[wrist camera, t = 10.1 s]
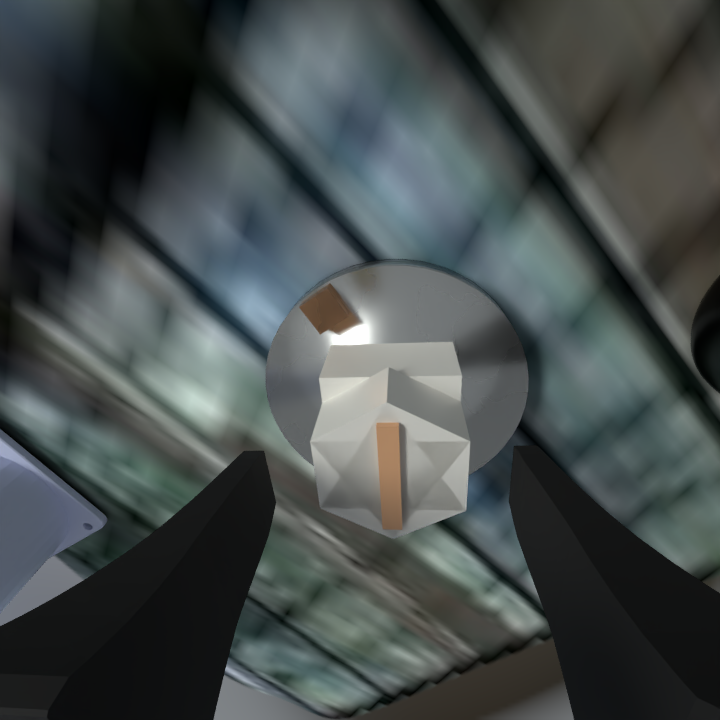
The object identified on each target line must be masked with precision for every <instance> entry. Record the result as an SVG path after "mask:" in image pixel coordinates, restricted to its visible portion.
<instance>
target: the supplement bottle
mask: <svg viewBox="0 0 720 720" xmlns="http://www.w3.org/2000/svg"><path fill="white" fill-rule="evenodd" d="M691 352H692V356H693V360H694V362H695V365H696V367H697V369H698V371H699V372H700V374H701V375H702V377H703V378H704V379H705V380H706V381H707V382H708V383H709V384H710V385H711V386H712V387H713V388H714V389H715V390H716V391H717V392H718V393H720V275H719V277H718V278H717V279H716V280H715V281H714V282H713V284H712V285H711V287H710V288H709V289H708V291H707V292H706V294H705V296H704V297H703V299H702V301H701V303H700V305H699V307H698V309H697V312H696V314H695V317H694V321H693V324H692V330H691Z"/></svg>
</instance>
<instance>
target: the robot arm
mask: <svg viewBox="0 0 720 720" xmlns="http://www.w3.org/2000/svg"><path fill="white" fill-rule="evenodd" d="M509 504H510V508H511V513H512V517H513V521H514V525H515V530H516V534H517V537H518V540H519V543H520V546H521V549H522V551H523V554H524V557H525V560H526V562H527V565H528V568H529V571H530V573H531V576H532V579H533V582H534V584H535V587H536V590H537V593H538V595H539V598H540V601H541V603H542V606H543V609H544V612H545V614H546V617H547V620H548V623H549V626H550V629H551V633H552V636H553V639H554V643H555V647H556V650H557V654H558V658H559V661H560V665H561V669H562V672H563V677H564V681H565V685H566V689H567V693H568V696H569V700H570V704H571V708H572V712H573V716H574V720H720V593H719V592H717V591H715V590H714V589H712V588H711V587H709V586H707V585H706V584H705V583H703V582H701V581H700V580H698V579H697V578H695V577H694V576H692V575H691V574H689V573H687V572H686V571H684V570H683V569H682V568H680V567H679V566H677V565H676V564H674V563H673V562H671V561H670V560H668V559H667V558H666V557H664V556H663V555H662V554H660V553H659V552H657V551H656V550H655V549H653V548H652V547H651V546H649V545H648V544H646V543H645V542H644V541H642V540H641V539H640V538H638V537H637V536H636V535H635V534H633V533H632V532H631V531H629V530H628V529H627V528H626V527H624V526H623V525H622V524H621V523H620V522H618V521H617V520H616V519H615V518H614V517H612V516H611V515H610V514H609V513H608V512H606V511H605V510H604V509H603V508H602V507H601V506H600V505H598V504H597V503H596V502H595V501H594V500H593V499H592V498H591V497H590V496H589V495H588V494H586V493H585V492H584V491H583V490H582V489H581V488H580V487H579V486H578V485H577V484H576V483H575V482H574V481H573V480H572V479H570V478H569V477H568V476H567V475H566V474H565V473H564V472H563V471H562V470H561V469H560V468H559V467H558V466H557V465H556V464H555V463H554V462H553V461H552V460H551V459H550V458H549V457H548V456H547V455H546V454H545V453H544V452H543V451H542V450H541V449H540V448H539V447H538V446H537V445H533V446H514V452H513V463H512V473H511V484H510V495H509ZM275 505H276V500H275V496H274V491H273V487H272V483H271V479H270V475H269V470H268V466H267V462H266V458H265V453H264V451H244V452H243V453H242V454H240V455H239V456H238V457H237V458H236V459H235V460H234V461H233V462H232V463H231V464H230V465H229V466H228V467H227V468H226V469H225V470H223V471H222V472H221V473H220V474H219V475H218V476H217V477H216V478H215V479H214V480H213V481H212V482H211V483H210V484H209V485H208V486H207V487H205V488H204V489H203V490H202V491H201V492H200V493H199V494H198V495H197V496H196V497H195V498H194V499H193V500H191V501H190V502H189V503H188V504H187V505H186V506H184V507H183V508H182V509H181V510H180V511H179V512H177V513H176V514H175V515H174V516H173V517H172V518H170V519H169V520H168V521H167V522H166V523H165V524H163V525H162V526H161V527H160V528H158V529H157V530H156V531H154V532H153V533H152V534H151V535H149V536H148V537H147V538H145V539H144V540H143V541H141V542H140V543H139V544H137V545H136V546H134V547H133V548H132V549H130V550H129V551H128V552H126V553H125V554H123V555H122V556H120V557H119V558H117V559H116V560H114V561H113V562H111V563H110V564H108V565H107V566H105V567H104V568H102V569H101V570H99V571H97V572H96V573H94V574H93V575H91V576H90V577H88V578H87V579H85V580H84V581H82V582H80V583H79V584H77V585H75V586H74V587H72V588H70V589H69V590H67V591H65V592H63V593H62V594H60V595H58V596H57V597H55V598H53V599H51V600H49V601H48V602H46V603H44V604H42V605H40V606H39V607H37V608H35V609H33V610H31V611H29V612H27V613H26V614H24V615H22V616H20V617H18V618H16V619H14V620H12V621H10V622H8V623H6V624H4V625H2V626H0V720H213V719H214V714H215V710H216V705H217V701H218V697H219V693H220V689H221V685H222V680H223V676H224V672H225V668H226V664H227V660H228V656H229V653H230V649H231V645H232V641H233V637H234V633H235V630H236V626H237V623H238V620H239V617H240V614H241V611H242V608H243V605H244V602H245V599H246V597H247V594H248V591H249V588H250V586H251V583H252V580H253V578H254V575H255V572H256V569H257V567H258V564H259V561H260V558H261V555H262V553H263V550H264V547H265V544H266V541H267V538H268V536H269V532H270V527H271V523H272V519H273V514H274V509H275ZM106 523H107V518H106V516H105V515H104V514H103V513H102V512H101V511H100V510H98V509H97V508H96V507H95V506H93V505H92V504H91V503H90V502H89V501H87V500H86V499H85V498H84V497H82V496H81V495H80V494H79V493H78V492H76V491H75V490H74V489H73V488H72V487H70V486H69V485H68V484H67V483H65V482H64V481H63V480H62V479H61V478H59V477H58V476H57V475H56V474H54V473H53V472H52V471H51V470H50V469H48V468H47V467H46V466H45V465H44V464H42V463H41V462H40V461H39V460H37V459H36V458H35V457H34V456H33V455H31V454H30V453H29V452H28V451H27V450H25V449H24V448H23V447H22V446H20V445H19V444H18V443H17V442H16V441H14V440H13V439H12V438H11V437H9V436H8V435H7V434H6V433H5V432H3V431H2V430H1V429H0V613H1V612H2V611H3V610H4V609H5V607H6V606H7V605H8V604H9V603H10V601H11V600H12V599H13V598H14V597H15V596H16V595H17V594H18V592H19V591H20V590H21V589H22V588H23V587H24V585H25V584H26V583H27V582H28V581H29V580H30V579H31V577H32V576H33V575H34V574H35V573H36V572H37V571H38V569H39V568H40V567H41V566H42V565H43V564H44V563H45V561H46V560H47V559H49V558H50V557H52V556H54V555H56V554H57V553H59V552H61V551H63V550H64V549H66V548H68V547H70V546H72V545H73V544H75V543H77V542H79V541H80V540H82V539H84V538H86V537H87V536H89V535H91V534H93V533H94V532H96V531H98V530H100V529H101V528H102V527H103V526H104V525H105V524H106Z"/></svg>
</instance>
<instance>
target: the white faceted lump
mask: <svg viewBox="0 0 720 720" xmlns="http://www.w3.org/2000/svg"><path fill="white" fill-rule="evenodd" d="M319 382H320V390H321V398H322V405H321V409H320V412H319V415H318V418H317V421H316V425H315V428H314V431H313V434H312V437H311V440H310V444H311V451H312V457H313V464H314V470H315V477H316V484H317V490H318V497H319V503H320V508H321V509H323V510H326V511H328V512H330V513H333V514H335V515H338V516H340V517H342V518H345V519H347V520H349V521H352V522H354V523H357V524H359V525H361V526H364V527H366V528H368V529H371V530H373V531H376V532H378V533H380V534H383V535H385V536H387V537H390V538H392V539H394V538H397V537H399V536H402V535H405V534H407V533H410V532H412V531H415V530H418V529H420V528H423V527H425V526H428V525H430V524H433V523H436V522H438V521H441V520H443V519H446V518H448V517H451V516H454V515H456V514H459V513H461V512H464V511H466V505H467V489H468V472H469V456H470V438H469V434H468V430H467V425H466V421H465V417H464V413H463V409H462V405H461V386H462V374H461V370H460V366H459V363H458V359H457V355H456V352H455V348H454V344H453V342H425V343H387V344H350V345H331V346H330V349H329V352H328V354H327V357H326V360H325V363H324V366H323V368H322V371H321V374H320V377H319Z"/></svg>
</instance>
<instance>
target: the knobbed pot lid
mask: <svg viewBox="0 0 720 720" xmlns="http://www.w3.org/2000/svg"><path fill="white" fill-rule="evenodd" d="M425 342H453V344H454V348H455V352H456V355H457V359H458V363H459V366H460V370H461V374H462V386H461V405H462V409H463V413H464V417H465V421H466V425H467V430H468V434H469V438H470V456H469V472H468V475H470V474H472V473H473V472H475V471H476V470H478V469H479V468H481V467H483V466H484V465H485V464H486V463H488V462H489V461H490V460H491V459H492V458H494V457H495V456H496V455H497V454H498V453H499V451H500V450H501V449H502V448H503V447H504V446H505V445H506V443H507V442H508V441H509V439H510V438H511V436H512V435H513V434H514V432H515V430H516V428H517V426H518V424H519V422H520V420H521V417H522V414H523V412H524V409H525V406H526V400H527V395H528V379H529V375H528V368H527V360H526V357H525V353H524V350H523V347H522V344H521V342H520V340H519V338H518V336H517V333H516V331H515V329H514V328H513V326H512V325H511V323H510V322H509V320H508V319H507V317H506V316H505V314H504V313H503V311H502V310H501V308H500V307H499V306H498V304H497V303H496V302H495V301H494V300H493V299H492V298H491V297H490V296H489V295H488V294H487V293H486V292H485V291H484V290H482V289H481V288H480V287H479V286H477V285H476V284H475V283H474V282H472V281H470V280H468V279H467V278H465V277H463V276H462V275H460V274H458V273H456V272H454V271H451V270H449V269H446V268H444V267H442V266H438V265H434V264H431V263H427V262H423V261H415V260H407V259H384V260H377V261H369V262H365V263H361V264H358V265H354V266H350V267H348V268H346V269H343V270H341V271H338V272H336V273H334V274H332V275H330V276H329V277H327V278H325V279H324V280H322V281H320V282H319V283H318V284H316V285H315V286H314V287H313V288H311V289H310V290H309V291H308V292H306V293H305V294H304V296H303V297H302V298H301V299H300V300H299V301H298V302H297V303H296V304H295V305H294V307H293V308H292V310H291V311H290V313H289V314H288V315H287V317H286V318H285V320H284V321H283V323H282V324H281V326H280V327H279V329H278V331H277V333H276V335H275V337H274V339H273V341H272V345H271V348H270V351H269V354H268V359H267V366H266V390H267V397H268V401H269V405H270V408H271V411H272V414H273V416H274V418H275V421H276V423H277V425H278V427H279V428H280V430H281V432H282V433H283V435H284V437H285V438H286V439H287V440H288V442H289V443H290V444H291V445H292V447H293V448H294V449H295V450H296V451H297V452H298V453H299V454H300V455H301V456H302V457H303V458H304V459H305V460H307V461H308V462H309V463H311V464H312V465H313V466H314V464H313V457H312V451H311V444H310V440H311V437H312V434H313V431H314V428H315V425H316V421H317V418H318V415H319V412H320V409H321V405H322V398H321V390H320V382H319V377H320V374H321V371H322V368H323V366H324V363H325V360H326V357H327V354H328V352H329V349H330V346H331V345H350V344H387V343H425Z"/></svg>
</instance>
